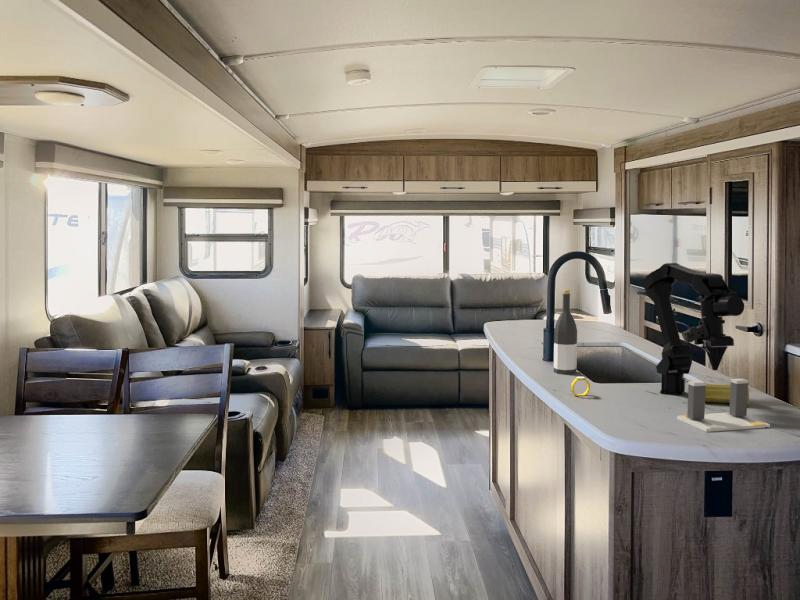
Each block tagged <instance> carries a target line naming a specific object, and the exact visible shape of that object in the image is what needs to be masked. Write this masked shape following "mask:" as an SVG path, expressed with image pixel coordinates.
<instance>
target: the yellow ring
mask: <svg viewBox="0 0 800 600" xmlns="http://www.w3.org/2000/svg"><path fill="white" fill-rule="evenodd" d="M578 381H585V382H586V390H585V391H584V392H583V393H576V392H575V384H576V383H577V382H578ZM590 390H591V384H590V382H589V380H588V379H586V377H585V376H576V377H575V378H574V380H572V382H571V384H570V391H571V393H572V394H573V395H574V396H575V397H583V396H584V397H585V396H587V395H588V394H589V393H590Z"/></svg>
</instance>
